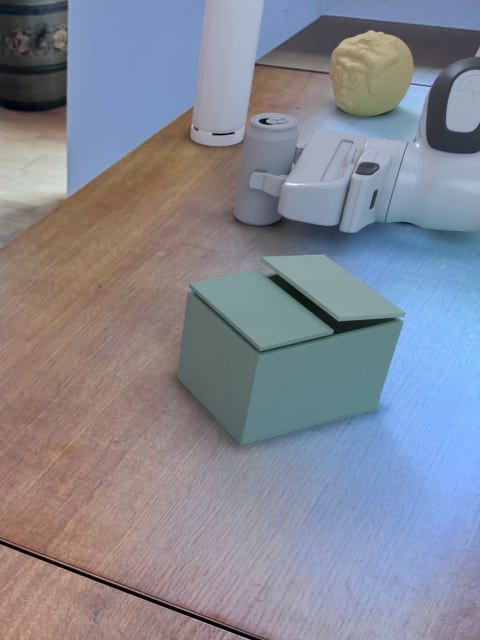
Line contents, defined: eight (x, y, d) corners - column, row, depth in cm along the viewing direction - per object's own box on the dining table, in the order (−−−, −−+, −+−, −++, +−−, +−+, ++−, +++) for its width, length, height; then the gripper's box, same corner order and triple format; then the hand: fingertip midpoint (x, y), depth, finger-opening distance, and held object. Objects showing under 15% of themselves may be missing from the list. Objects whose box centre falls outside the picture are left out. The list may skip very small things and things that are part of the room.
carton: (301, 348, 97) (323, 254, 90) (375, 411, 89) (406, 313, 81) (176, 378, 94) (188, 283, 87) (241, 447, 86) (260, 347, 78)
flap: (322, 258, 90) (323, 254, 90) (404, 317, 82) (406, 312, 81) (260, 260, 88) (261, 256, 87) (338, 321, 79) (339, 317, 79)
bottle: (208, 125, 144) (236, -101, 123) (253, 135, 140) (290, -96, 119) (179, 140, 140) (203, -91, 119) (225, 151, 136) (258, -85, 115)
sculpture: (310, 107, 147) (325, 29, 140) (367, 93, 151) (385, 17, 143) (359, 128, 140) (378, 47, 133) (418, 113, 144) (439, 34, 136)
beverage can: (228, 209, 122) (243, 111, 113) (277, 208, 122) (295, 109, 113) (235, 230, 118) (251, 129, 109) (285, 229, 117) (305, 128, 108)
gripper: (391, 123, 115) (282, 111, 119) (364, 184, 102) (243, 168, 107) (378, 175, 120) (273, 162, 124) (350, 239, 107) (235, 222, 111)
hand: (259, 165), depth 115 cm, fingers open, 7 cm apart
